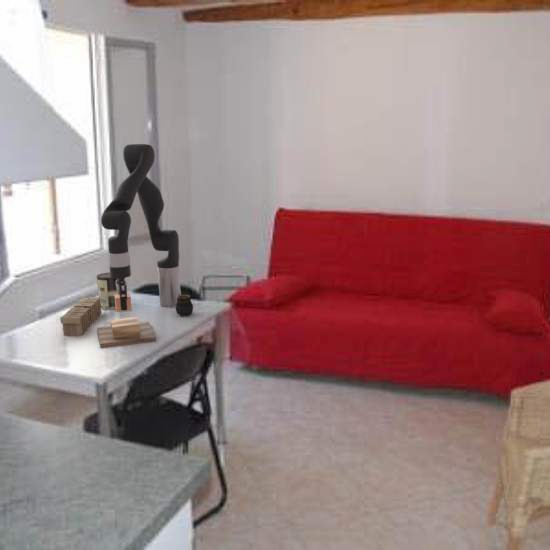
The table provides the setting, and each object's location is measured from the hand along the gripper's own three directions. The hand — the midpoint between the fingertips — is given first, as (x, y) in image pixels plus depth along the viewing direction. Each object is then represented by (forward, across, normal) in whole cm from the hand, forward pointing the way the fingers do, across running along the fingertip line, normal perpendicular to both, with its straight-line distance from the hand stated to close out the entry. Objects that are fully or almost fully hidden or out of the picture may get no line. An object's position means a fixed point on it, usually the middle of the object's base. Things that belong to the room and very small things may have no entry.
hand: (123, 307), depth 248 cm
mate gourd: (+11, +18, -26) cm, 34 cm away
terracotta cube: (+1, 0, 0) cm, 1 cm away
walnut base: (+11, 0, 0) cm, 11 cm away
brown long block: (+12, +21, +15) cm, 28 cm away
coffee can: (+11, +44, +2) cm, 46 cm away
